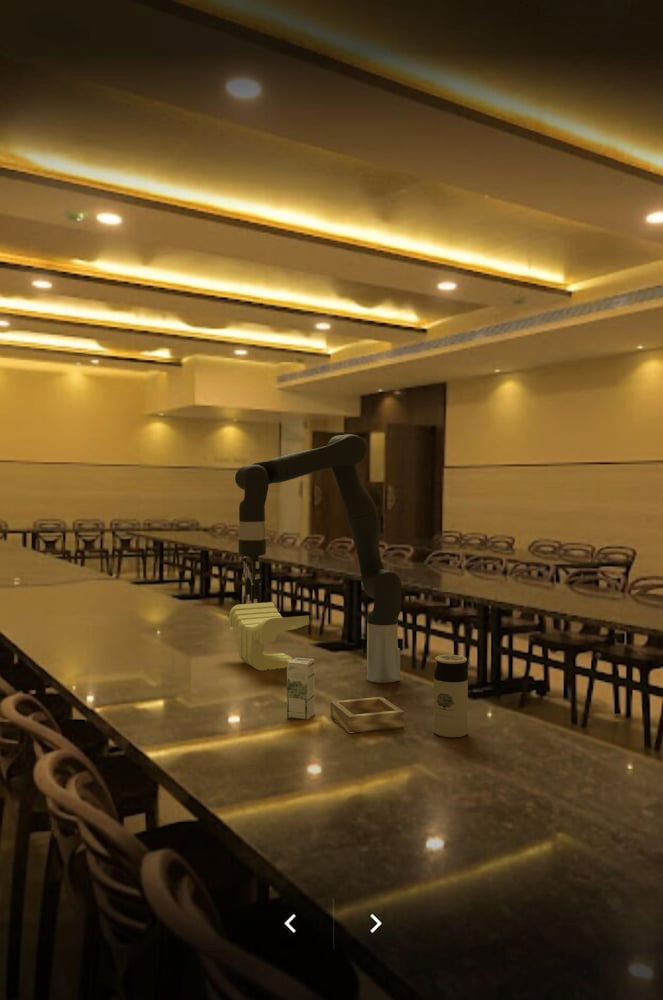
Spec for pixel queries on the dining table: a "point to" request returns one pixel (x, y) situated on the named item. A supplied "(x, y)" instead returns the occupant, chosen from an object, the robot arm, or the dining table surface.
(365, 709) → the socket block
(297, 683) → the syrup box
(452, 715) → the travel mug
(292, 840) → the dining table surface
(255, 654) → the slatted curved stool
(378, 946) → the dining table surface
